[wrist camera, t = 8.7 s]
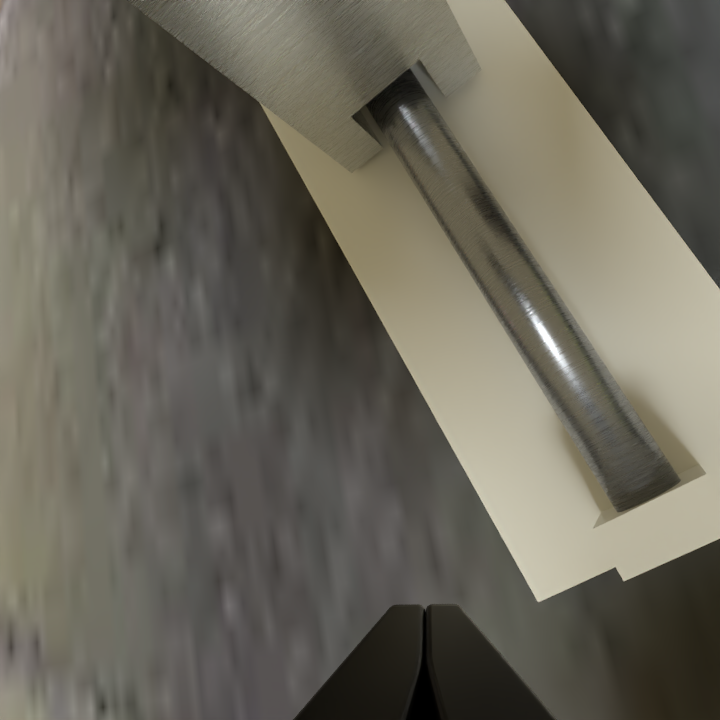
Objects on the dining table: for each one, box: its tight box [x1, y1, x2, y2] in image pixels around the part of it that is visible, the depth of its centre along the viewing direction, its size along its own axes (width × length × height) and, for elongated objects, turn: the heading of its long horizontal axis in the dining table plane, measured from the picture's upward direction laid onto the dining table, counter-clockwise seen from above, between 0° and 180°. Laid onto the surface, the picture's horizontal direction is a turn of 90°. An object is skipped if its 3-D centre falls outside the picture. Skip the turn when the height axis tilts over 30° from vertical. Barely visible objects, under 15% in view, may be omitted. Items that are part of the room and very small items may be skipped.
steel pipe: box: [366, 68, 681, 512], centre depth 20 cm, size 23×2×2 cm, turn 30°
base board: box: [260, 0, 720, 602], centre depth 20 cm, size 26×9×3 cm, turn 30°
